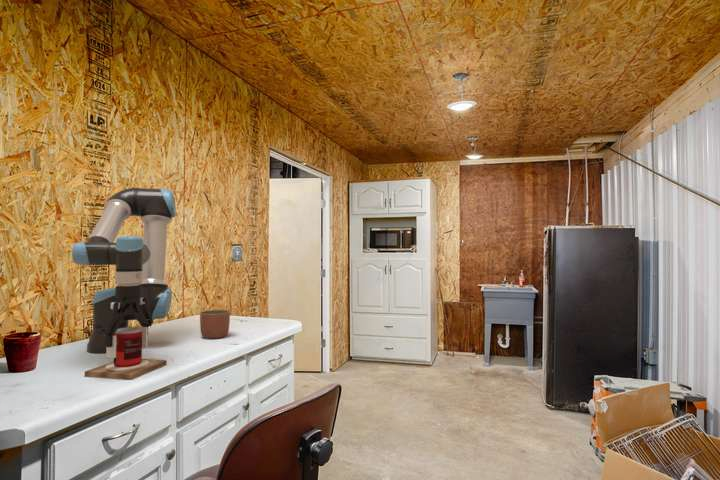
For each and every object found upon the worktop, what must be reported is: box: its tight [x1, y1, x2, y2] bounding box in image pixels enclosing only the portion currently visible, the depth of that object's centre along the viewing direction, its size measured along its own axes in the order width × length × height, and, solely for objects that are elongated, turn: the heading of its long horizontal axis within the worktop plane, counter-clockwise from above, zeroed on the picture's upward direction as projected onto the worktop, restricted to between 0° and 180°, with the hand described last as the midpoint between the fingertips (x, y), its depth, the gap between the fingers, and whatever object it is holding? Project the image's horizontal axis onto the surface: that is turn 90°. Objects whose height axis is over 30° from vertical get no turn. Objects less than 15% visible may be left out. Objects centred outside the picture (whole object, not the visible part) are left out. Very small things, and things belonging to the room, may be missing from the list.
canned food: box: [113, 326, 143, 367], centre depth 129 cm, size 8×8×11 cm
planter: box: [199, 309, 231, 340], centre depth 178 cm, size 12×12×11 cm
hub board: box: [84, 358, 168, 381], centre depth 129 cm, size 16×16×2 cm
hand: (127, 351), depth 129 cm, fingers open, 13 cm apart
